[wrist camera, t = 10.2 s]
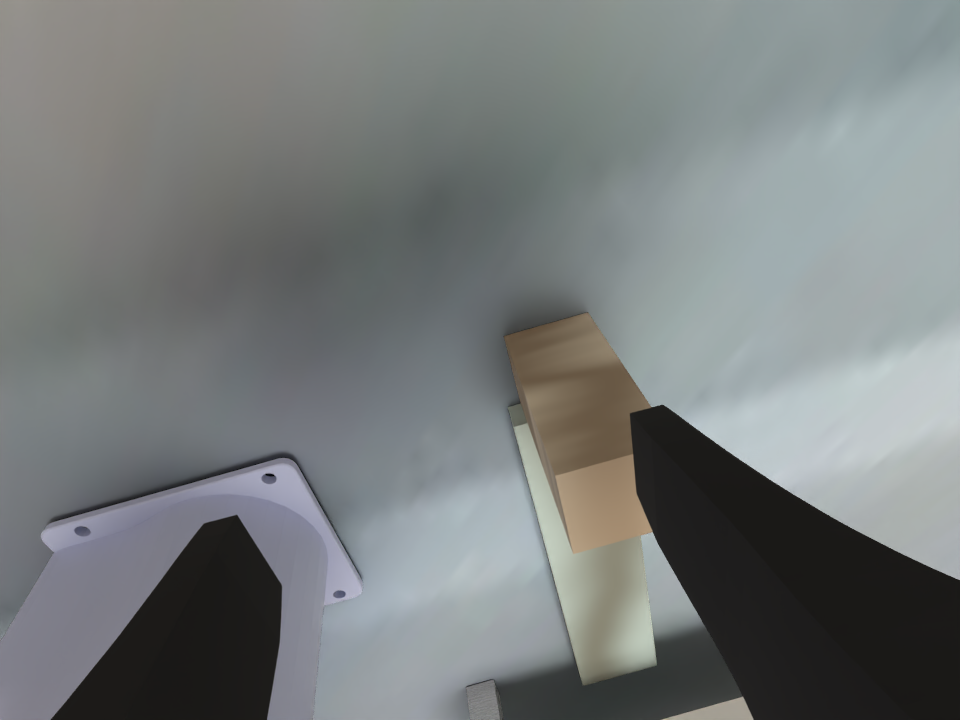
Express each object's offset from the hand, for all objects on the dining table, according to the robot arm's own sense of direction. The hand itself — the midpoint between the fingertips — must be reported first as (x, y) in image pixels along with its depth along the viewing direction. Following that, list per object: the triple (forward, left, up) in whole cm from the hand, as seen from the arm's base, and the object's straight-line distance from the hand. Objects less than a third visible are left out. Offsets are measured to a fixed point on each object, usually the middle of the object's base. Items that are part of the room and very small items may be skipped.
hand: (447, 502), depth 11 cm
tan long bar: (+4, -13, -9) cm, 17 cm away
